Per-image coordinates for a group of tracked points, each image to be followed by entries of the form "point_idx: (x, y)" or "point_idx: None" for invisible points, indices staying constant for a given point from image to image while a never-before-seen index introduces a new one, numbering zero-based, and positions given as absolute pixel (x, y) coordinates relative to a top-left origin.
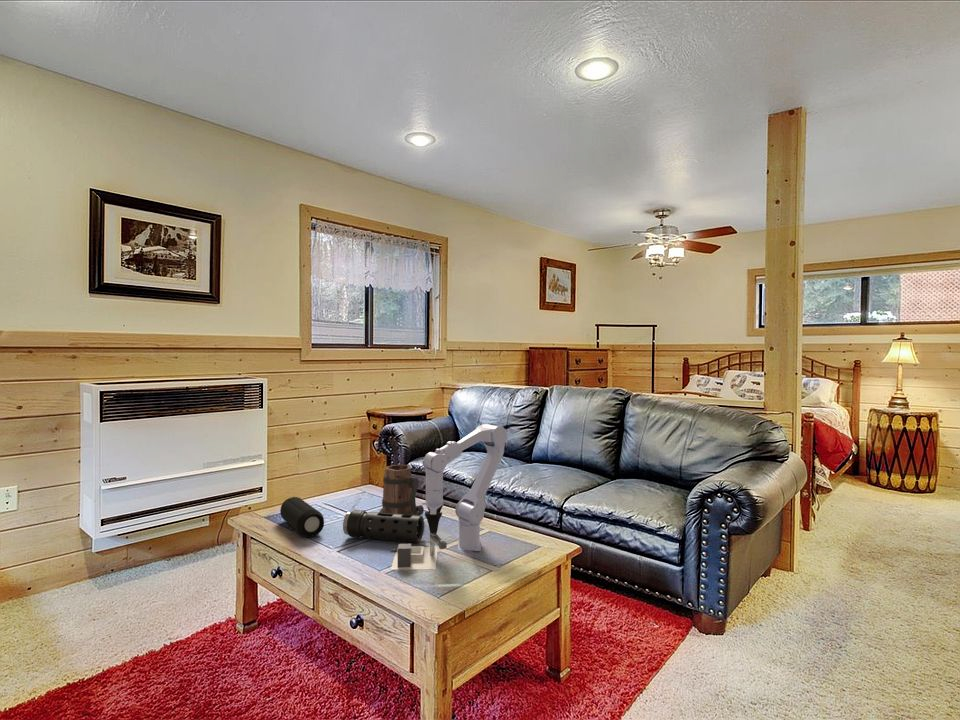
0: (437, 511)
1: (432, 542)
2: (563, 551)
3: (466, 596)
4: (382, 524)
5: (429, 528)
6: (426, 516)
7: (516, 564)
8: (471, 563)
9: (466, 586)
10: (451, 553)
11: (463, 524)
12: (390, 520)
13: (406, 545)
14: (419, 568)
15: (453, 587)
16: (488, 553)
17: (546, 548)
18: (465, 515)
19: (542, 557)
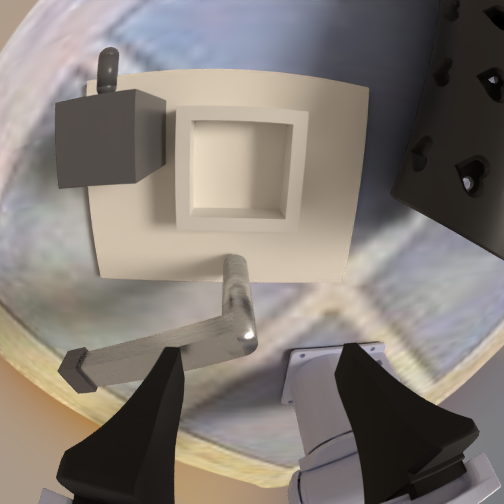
0: (369, 453)
1: (222, 305)
2: (258, 483)
3: (3, 339)
4: (476, 12)
5: (150, 371)
6: (67, 455)
7: (189, 445)
8: (185, 380)
9: (39, 348)
10: (279, 329)
11: (322, 445)
12: (500, 53)
13: (103, 151)
14: (96, 212)
15: (23, 319)
16: (264, 413)
17: (277, 473)
18: (325, 486)
19: (230, 470)
